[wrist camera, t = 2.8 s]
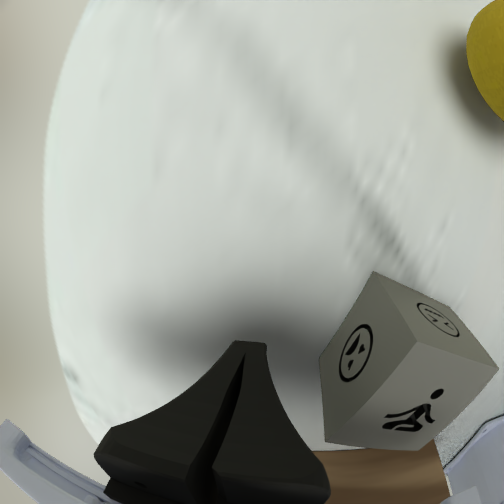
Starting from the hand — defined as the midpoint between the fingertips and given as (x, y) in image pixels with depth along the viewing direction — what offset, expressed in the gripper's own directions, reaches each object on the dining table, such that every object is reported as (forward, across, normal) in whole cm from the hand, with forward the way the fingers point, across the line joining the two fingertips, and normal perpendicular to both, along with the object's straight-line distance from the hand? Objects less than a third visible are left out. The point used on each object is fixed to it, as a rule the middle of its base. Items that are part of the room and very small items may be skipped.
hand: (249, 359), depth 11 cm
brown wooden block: (+1, -7, +11) cm, 13 cm away
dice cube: (+2, -6, 0) cm, 7 cm away
